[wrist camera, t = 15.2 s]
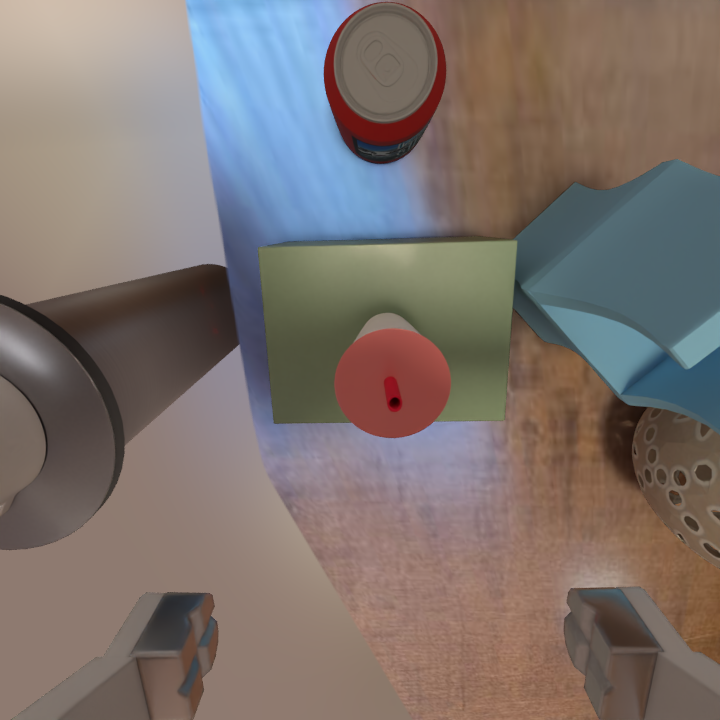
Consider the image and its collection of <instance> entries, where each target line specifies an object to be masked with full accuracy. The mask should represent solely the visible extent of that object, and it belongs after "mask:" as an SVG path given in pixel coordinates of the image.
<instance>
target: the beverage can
mask: <svg viewBox="0 0 720 720" xmlns="http://www.w3.org/2000/svg"><path fill="white" fill-rule="evenodd" d="M445 80H446V61H445V55H444V50H443V47H442V44H441V41H440V39H439V37H438V35H437V33H436V31H435V30H434V28H433V27H432V25H431V24H430V23H429V22H428V21H427V20H426V19H425V18H424V17H423V16H422V15H421V14H420V13H418V12H417V11H415V10H414V9H412V8H410V7H408V6H405V5H403V4H399V3H394V2H379V3H374V4H370V5H367V6H365V7H363V8H361V9H359V10H357V11H356V12H354V13H353V14H352V15H350V16H349V17H348V18H347V19H346V20H345V21H344V22H343V23H342V24H341V25H340V27H339V28H338V29H337V31H336V32H335V34H334V36H333V38H332V40H331V42H330V44H329V47H328V50H327V54H326V58H325V64H324V83H325V90H326V94H327V97H328V101H329V104H330V107H331V110H332V113H333V115H334V118H335V121H336V123H337V126H338V129H339V131H340V133H341V136H342V138H343V140H344V142H345V143H346V145H347V146H348V147H349V149H350V150H351V151H352V152H353V153H354V154H356V155H357V156H358V157H360V158H362V159H364V160H366V161H368V162H372V163H380V164H381V163H390V162H393V161H396V160H399V159H400V158H402V157H404V156H405V155H407V154H408V153H409V152H410V151H411V150H412V149H413V148H414V147H415V145H416V144H417V143H418V141H419V139H420V138H421V136H422V135H423V133H424V131H425V129H426V128H427V126H428V124H429V122H430V120H431V118H432V116H433V114H434V112H435V110H436V108H437V106H438V104H439V102H440V100H441V97H442V94H443V90H444V86H445Z"/></svg>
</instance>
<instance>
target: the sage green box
mask: <svg viewBox="0 0 720 720" xmlns="http://www.w3.org/2000/svg"><path fill="white" fill-rule="evenodd" d="M516 255H517V240H511V239H502V238H492V237H482V236H470V237H435V238H399V239H364V240H329V241H293V242H283V243H278V244H273V245H268V246H262V247H258V257H259V268H260V279H261V290H262V301H263V312H264V322H265V333H266V344H267V355H268V366H269V377H270V388H271V398H272V409H273V420H274V423H275V424H279V423H352V422H351V421H350V420H349V419H348V418H347V417H346V416H345V414H344V413H343V411H342V410H341V408H340V406H339V404H338V401H337V398H336V394H335V387H334V380H335V373H336V369H337V366H338V363H339V361H340V359H341V357H342V356H343V354H344V353H345V351H346V350H347V349H348V348H349V347H350V346H351V345H352V344H353V343H354V341H355V339H356V338H357V336H358V334H359V333H360V331H361V330H362V328H363V327H364V325H365V324H366V323H367V321H368V320H370V319H371V318H372V317H374V316H376V315H378V314H381V313H393V314H397V315H399V316H401V317H402V318H404V319H405V320H406V321H407V322H408V323H409V324H411V325H412V326H413V327H414V328H415V329H416V330H417V331H418V332H419V333H420V334H421V335H422V336H424V337H426V338H427V339H428V340H430V341H431V342H432V343H433V344H434V345H436V347H437V348H438V349H439V350H440V351H441V353H442V354H443V356H444V358H445V359H446V362H447V364H448V367H449V370H450V376H451V389H450V395H449V398H448V401H447V404H446V406H445V408H444V409H443V411H442V412H441V414H440V415H439V416H438V418H437V419H436V420H435V421H504V420H505V408H506V394H507V380H508V366H509V352H510V338H511V325H512V311H513V297H514V283H515V269H516ZM435 421H434V422H435Z"/></svg>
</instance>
